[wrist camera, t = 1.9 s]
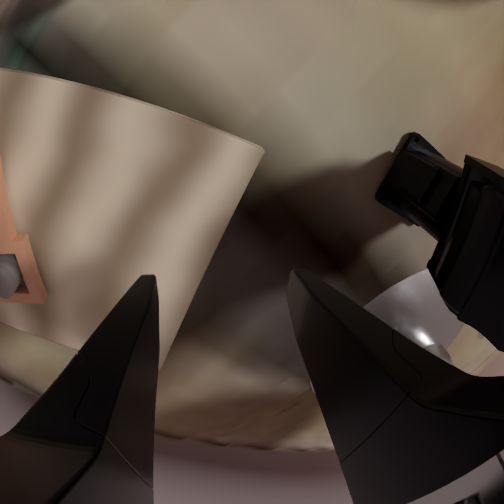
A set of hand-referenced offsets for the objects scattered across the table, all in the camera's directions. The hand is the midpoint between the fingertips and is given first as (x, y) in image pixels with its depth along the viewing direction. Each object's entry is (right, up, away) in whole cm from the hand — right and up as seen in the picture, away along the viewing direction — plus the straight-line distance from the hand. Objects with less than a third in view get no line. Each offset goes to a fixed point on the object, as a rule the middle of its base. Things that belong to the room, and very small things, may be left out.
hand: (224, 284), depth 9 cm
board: (-14, +2, +10) cm, 17 cm away
